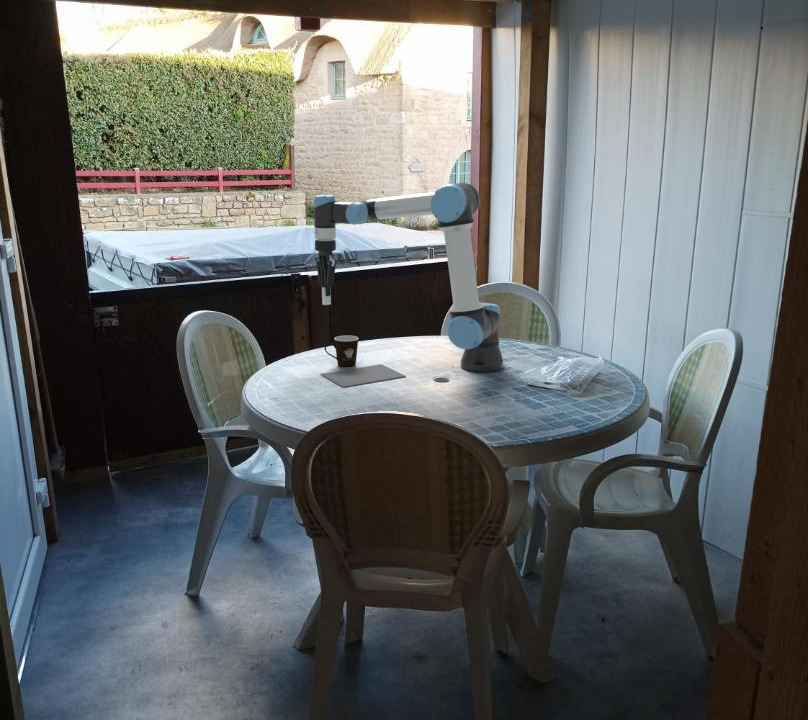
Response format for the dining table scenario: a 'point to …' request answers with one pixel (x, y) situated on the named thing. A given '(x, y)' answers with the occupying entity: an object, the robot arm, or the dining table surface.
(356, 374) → the mat
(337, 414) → the dining table surface
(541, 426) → the dining table surface
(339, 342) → the coffee mug
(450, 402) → the dining table surface
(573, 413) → the dining table surface
